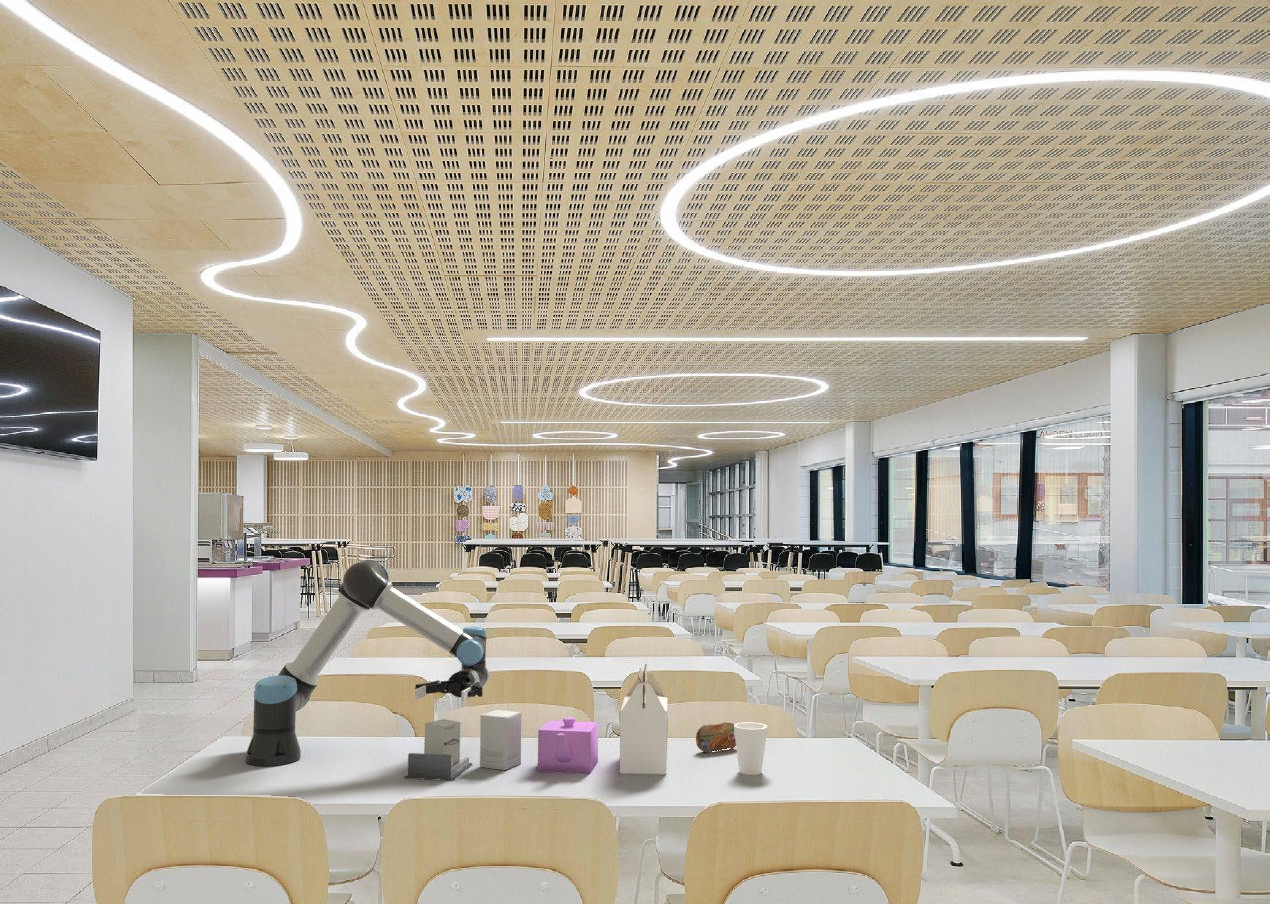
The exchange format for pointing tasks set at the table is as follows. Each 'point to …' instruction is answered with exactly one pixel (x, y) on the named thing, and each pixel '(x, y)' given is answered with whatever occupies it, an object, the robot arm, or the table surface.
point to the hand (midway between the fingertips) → (439, 695)
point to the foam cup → (750, 746)
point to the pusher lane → (435, 766)
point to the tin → (716, 737)
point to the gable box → (644, 728)
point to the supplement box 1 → (443, 738)
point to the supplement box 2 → (500, 739)
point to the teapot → (568, 746)
